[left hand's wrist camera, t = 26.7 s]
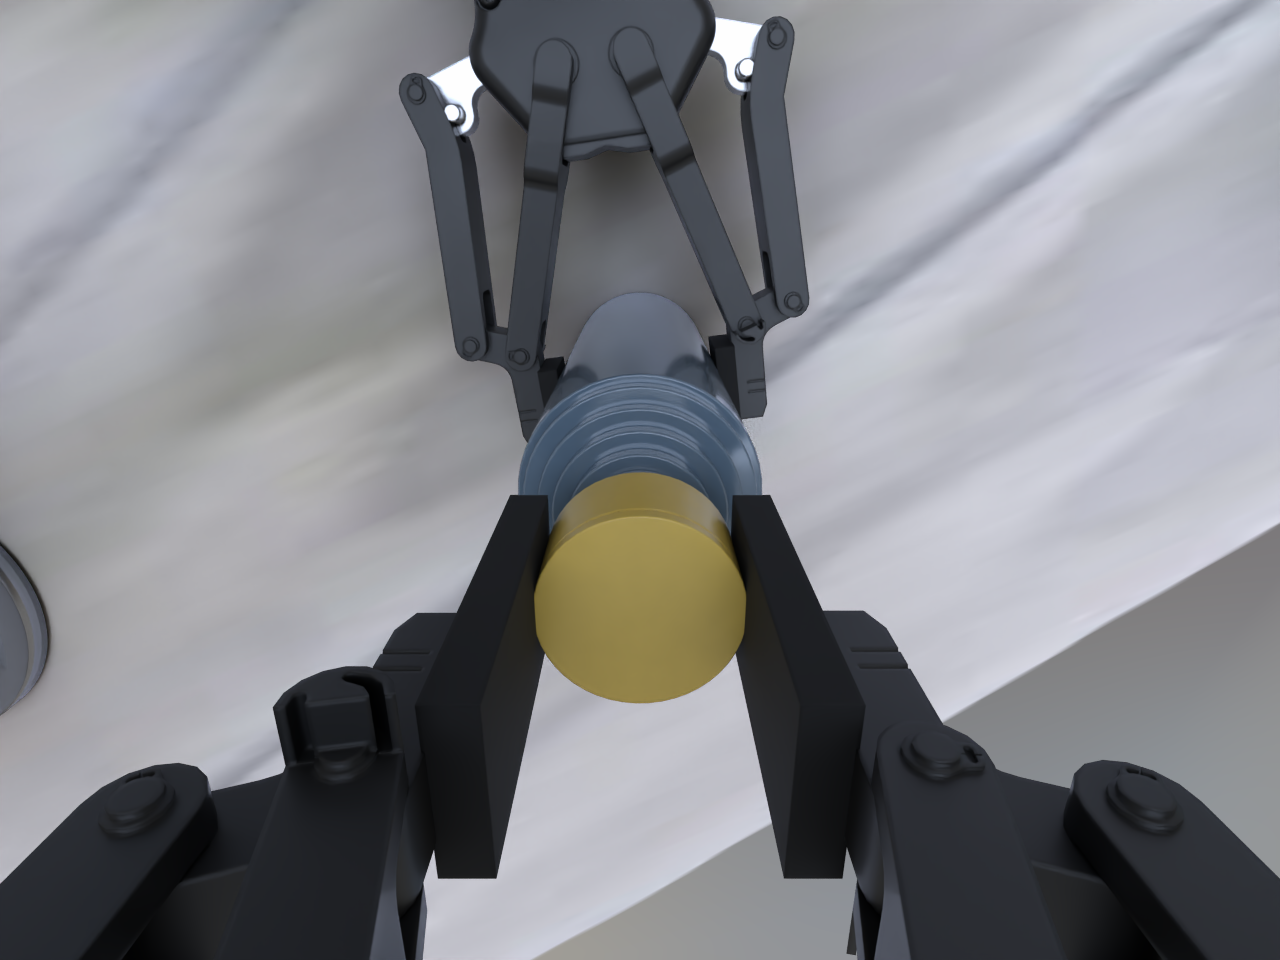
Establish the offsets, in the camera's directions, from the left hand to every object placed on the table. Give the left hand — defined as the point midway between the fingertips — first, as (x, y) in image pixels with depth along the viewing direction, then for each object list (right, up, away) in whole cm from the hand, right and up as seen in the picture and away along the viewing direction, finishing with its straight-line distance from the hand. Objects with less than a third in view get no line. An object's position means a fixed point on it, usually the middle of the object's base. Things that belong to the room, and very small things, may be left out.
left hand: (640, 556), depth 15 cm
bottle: (0, +8, +20) cm, 22 cm away
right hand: (+1, +1, +16) cm, 16 cm away
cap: (0, -1, -2) cm, 2 cm away
